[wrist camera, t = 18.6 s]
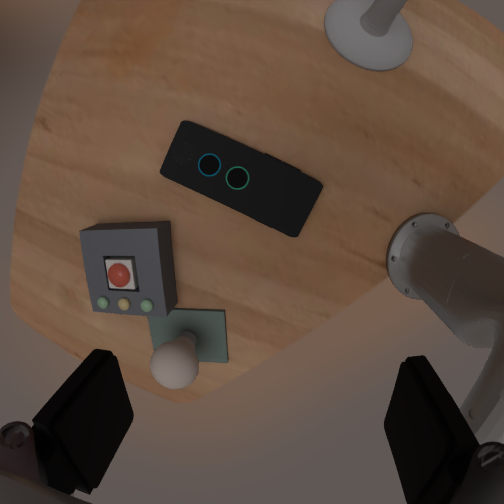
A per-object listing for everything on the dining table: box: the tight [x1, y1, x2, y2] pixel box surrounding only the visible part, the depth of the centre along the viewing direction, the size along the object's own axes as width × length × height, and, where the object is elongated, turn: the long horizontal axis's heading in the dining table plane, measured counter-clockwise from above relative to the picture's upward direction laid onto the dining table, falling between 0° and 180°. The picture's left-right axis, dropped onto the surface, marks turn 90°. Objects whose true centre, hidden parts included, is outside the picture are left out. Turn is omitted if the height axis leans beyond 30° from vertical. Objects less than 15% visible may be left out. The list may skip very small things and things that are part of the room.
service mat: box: [148, 308, 228, 363], centre depth 47 cm, size 12×9×1 cm
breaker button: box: [105, 256, 139, 289], centre depth 41 cm, size 4×4×4 cm
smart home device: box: [160, 121, 323, 237], centre depth 40 cm, size 8×2×20 cm
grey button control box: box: [79, 221, 178, 317], centre depth 42 cm, size 12×12×6 cm
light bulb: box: [150, 331, 199, 389], centre depth 41 cm, size 7×7×11 cm
